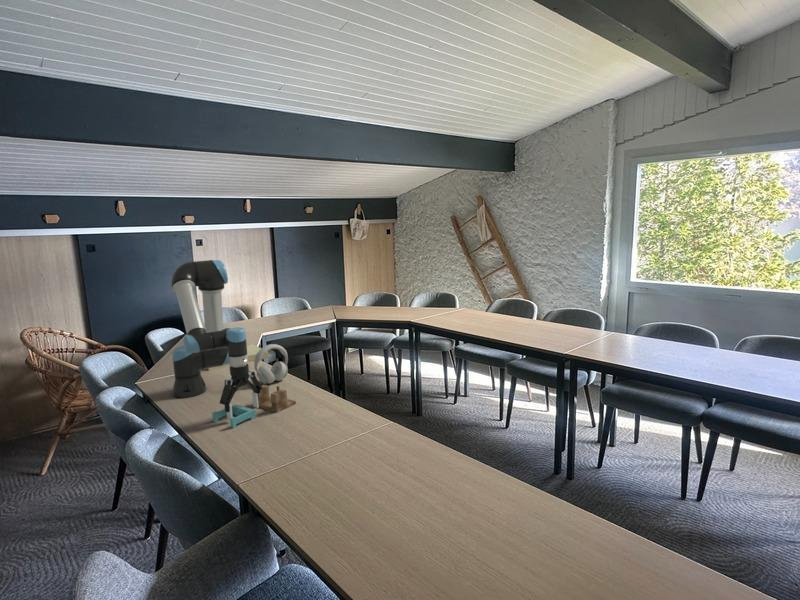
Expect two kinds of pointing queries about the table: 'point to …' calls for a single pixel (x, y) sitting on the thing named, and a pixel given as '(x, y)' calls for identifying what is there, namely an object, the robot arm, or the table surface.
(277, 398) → the stand
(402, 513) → the table surface
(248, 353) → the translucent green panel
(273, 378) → the headphones
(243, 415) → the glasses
